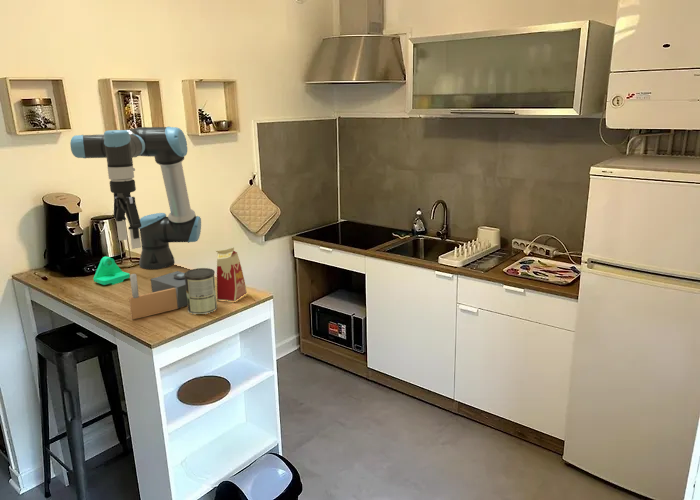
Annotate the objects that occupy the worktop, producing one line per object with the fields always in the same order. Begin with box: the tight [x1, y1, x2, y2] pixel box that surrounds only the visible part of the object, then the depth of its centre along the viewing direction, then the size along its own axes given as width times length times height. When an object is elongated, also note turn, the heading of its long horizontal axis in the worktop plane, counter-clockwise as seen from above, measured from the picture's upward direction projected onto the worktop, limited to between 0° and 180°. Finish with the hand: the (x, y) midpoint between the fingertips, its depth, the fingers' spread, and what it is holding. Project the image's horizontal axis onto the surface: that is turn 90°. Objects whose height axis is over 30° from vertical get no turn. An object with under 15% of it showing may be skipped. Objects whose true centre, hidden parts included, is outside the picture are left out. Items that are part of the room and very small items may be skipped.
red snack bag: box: [215, 247, 248, 301], centre depth 201 cm, size 9×9×20 cm
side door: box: [128, 273, 180, 320], centre depth 186 cm, size 2×17×16 cm, turn 129°
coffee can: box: [183, 267, 218, 315], centre depth 190 cm, size 10×10×14 cm
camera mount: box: [93, 256, 130, 286], centre depth 221 cm, size 12×8×10 cm, turn 143°
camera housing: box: [150, 270, 188, 309], centre depth 201 cm, size 12×16×9 cm
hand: (129, 243), depth 177 cm, fingers open, 13 cm apart
